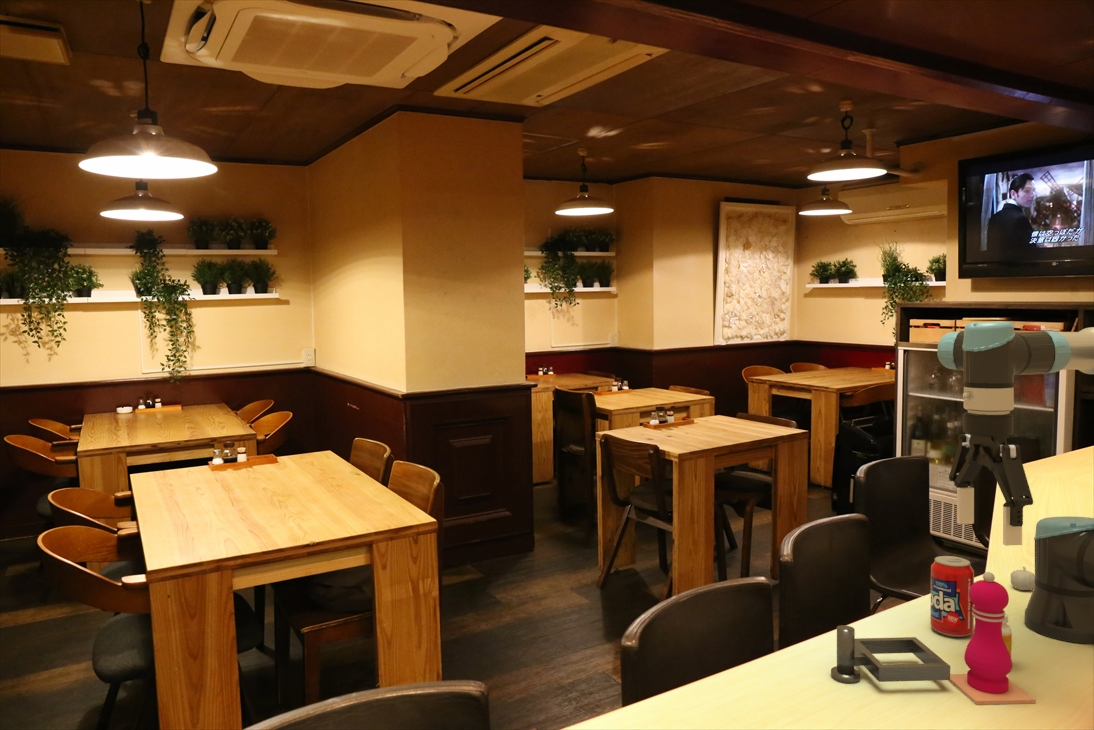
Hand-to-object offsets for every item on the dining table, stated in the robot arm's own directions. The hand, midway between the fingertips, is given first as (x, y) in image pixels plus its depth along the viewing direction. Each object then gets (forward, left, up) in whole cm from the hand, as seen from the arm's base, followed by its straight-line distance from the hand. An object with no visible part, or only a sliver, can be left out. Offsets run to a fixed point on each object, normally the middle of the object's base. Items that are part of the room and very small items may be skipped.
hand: (987, 533), depth 134 cm
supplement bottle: (-7, -9, -27) cm, 29 cm away
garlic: (-37, -48, -27) cm, 66 cm away
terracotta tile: (0, +1, -27) cm, 27 cm away
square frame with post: (+16, -5, -27) cm, 32 cm away
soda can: (-7, -24, -27) cm, 37 cm away
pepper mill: (0, +1, -27) cm, 27 cm away
